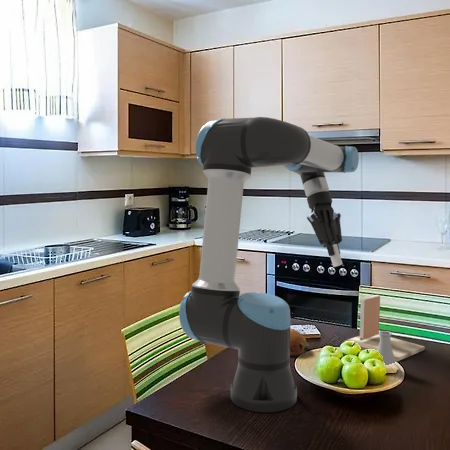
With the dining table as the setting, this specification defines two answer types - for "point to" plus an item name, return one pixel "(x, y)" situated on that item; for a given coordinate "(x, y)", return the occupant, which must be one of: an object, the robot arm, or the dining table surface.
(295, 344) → the brown rounded lump
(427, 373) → the dining table surface
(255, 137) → the robot arm
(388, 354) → the flask
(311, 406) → the dining table surface
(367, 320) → the tile
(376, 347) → the board
